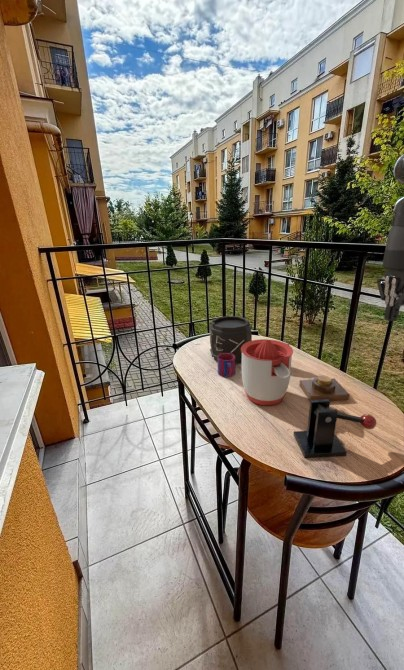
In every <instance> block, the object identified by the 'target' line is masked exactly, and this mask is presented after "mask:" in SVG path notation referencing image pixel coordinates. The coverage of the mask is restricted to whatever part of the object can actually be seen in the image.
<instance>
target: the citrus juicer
mask: <svg viewBox="0 0 404 670" xmlns="http://www.w3.org/2000/svg"><path fill="white" fill-rule="evenodd" d="M286 343H287V342H283V341H280V340H277V339H276V340H275V339H268V338H267V339H266V338H265V339H264V338H263V339H253V340H252V341H249V342H247V343H245V344H243V345H242V347H241V351H242V362H241V381H242V386H243V390H244V393H245V395H246V397H247V398H248V400H249V401H251V402H253V403H254V404H256V405H260V406H273V405H277V404H279V403H281V402H282V401H283V399H284V397H285V396H286V393H287V390H288V388H289V385H290V381H291V370H292V359H293V354H294V349H293V348H292V347H291V345H290V344H289V345H288V344H286Z"/></svg>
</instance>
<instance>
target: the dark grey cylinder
mask: <svg viewBox="0 0 404 670" xmlns="http://www.w3.org/2000/svg"><path fill="white" fill-rule="evenodd" d="M208 327H209V344H210V349H209V351H210V354H211V357H212V358H213V357H214V358H213V360H214V361H216V362H218V361H217V356H218V355H219V354H222V353H231V354H233V355H235V365H237V364H242V351H241V347H242V345H243V344H245V343H247V342H249V341H253V340H252V339H253V335H252V329H253V326H252V324H251V323H250V321H249V319H248V318H247V317H243V316H237V315H225V316H219V317H217V318H214V319H213V320H212V321H211V322H210V324H209V325H208Z"/></svg>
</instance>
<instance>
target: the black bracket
mask: <svg viewBox="0 0 404 670" xmlns="http://www.w3.org/2000/svg"><path fill="white" fill-rule="evenodd" d="M318 404H319V405H324V406H328V407H329V408H330V405H331V401H329V400H328V399H324V400H311V401H309V408H308V409H309V410H308V417H307V418H308V420H307V428H306V430H298V431H297V430H296V431H293V437H294V439H295V441H296V443H297V445H298V448H299V449H300V452H301V454H302V456H303V458H304V459H315V458H333V457H347V455H348V454H347V450H346V449H345V447H344V445H342V443H341V442H340V440H339V438H338V437H337V436H336V434H335V432H336V426H337V421H338V418H337V414H338V412H339V411H338V410H337V408H332V409H331V408H330V410H317V416H316V415H315V413H314V411H315V409H316V407H317V405H318Z"/></svg>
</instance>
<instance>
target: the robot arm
mask: <svg viewBox="0 0 404 670" xmlns="http://www.w3.org/2000/svg"><path fill="white" fill-rule="evenodd" d="M393 176H394V178H395V180H396V181H397V182H398V183H400V184H402V185H404V153H402V154H401V156H399V158H398V159H397V161H396V162H395V165H394V168H393ZM386 239H387V240H386V244H385V249H384V255H383V261H382V268H383V269H385V272H384V274H383V277H381V278H377V279H376V285H377V288H378V292H379V293H378V294H379V296H380V300H381V301H384V304H385V311H384V318H383V319H384V320H386V321H388V322H396V321H397V320H398V318H399V314H400V310H401V307H402V306H403V307H404V197H402V198H400V199H398V200H397V201H396V203H395V205H394V209H393V214H392V219H391V224H390V229H389V232H388V235H387V238H386Z"/></svg>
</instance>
